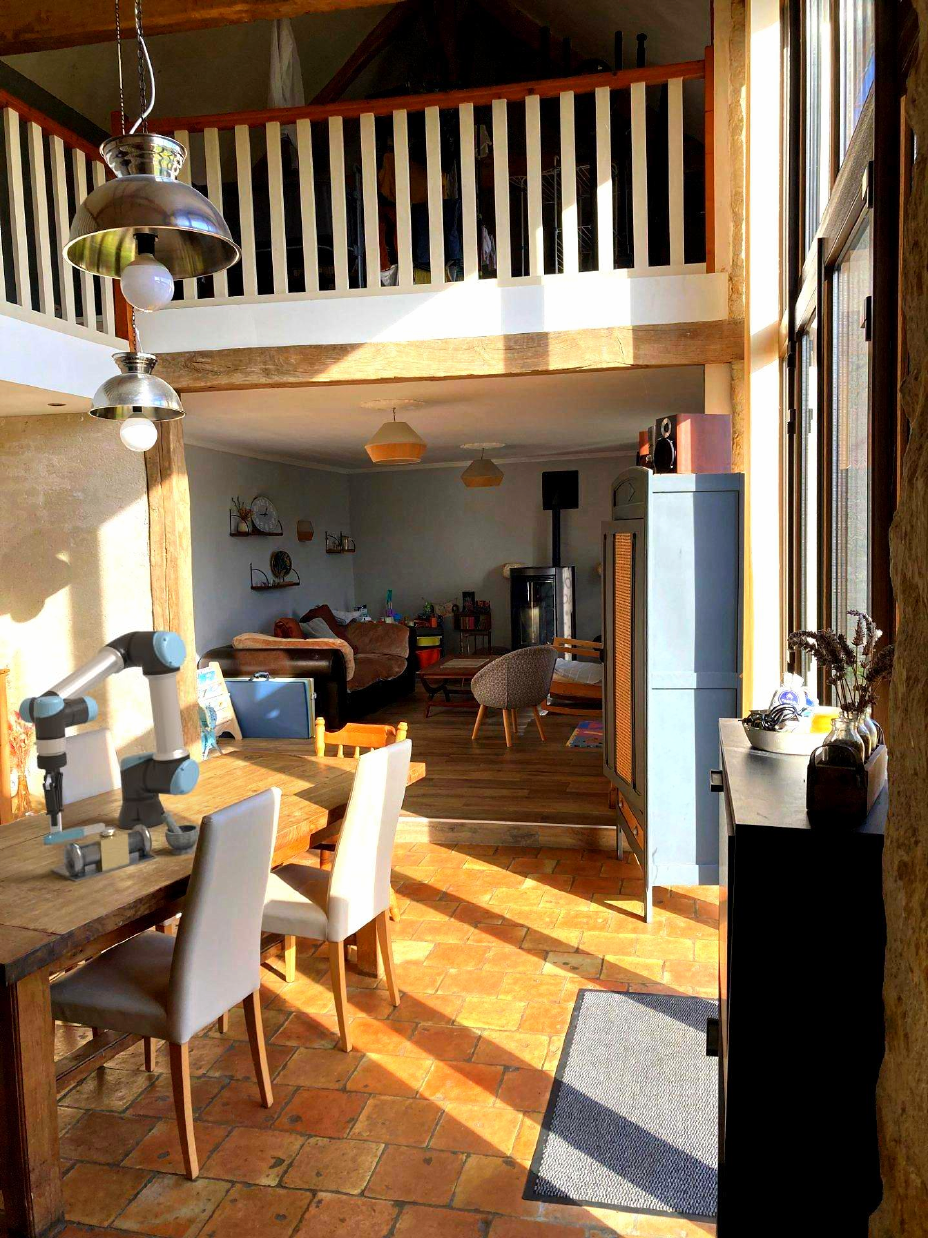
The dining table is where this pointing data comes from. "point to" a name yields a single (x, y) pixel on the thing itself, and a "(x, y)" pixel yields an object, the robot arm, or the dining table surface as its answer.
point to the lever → (78, 833)
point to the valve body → (105, 853)
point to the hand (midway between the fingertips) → (56, 836)
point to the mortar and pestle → (180, 835)
